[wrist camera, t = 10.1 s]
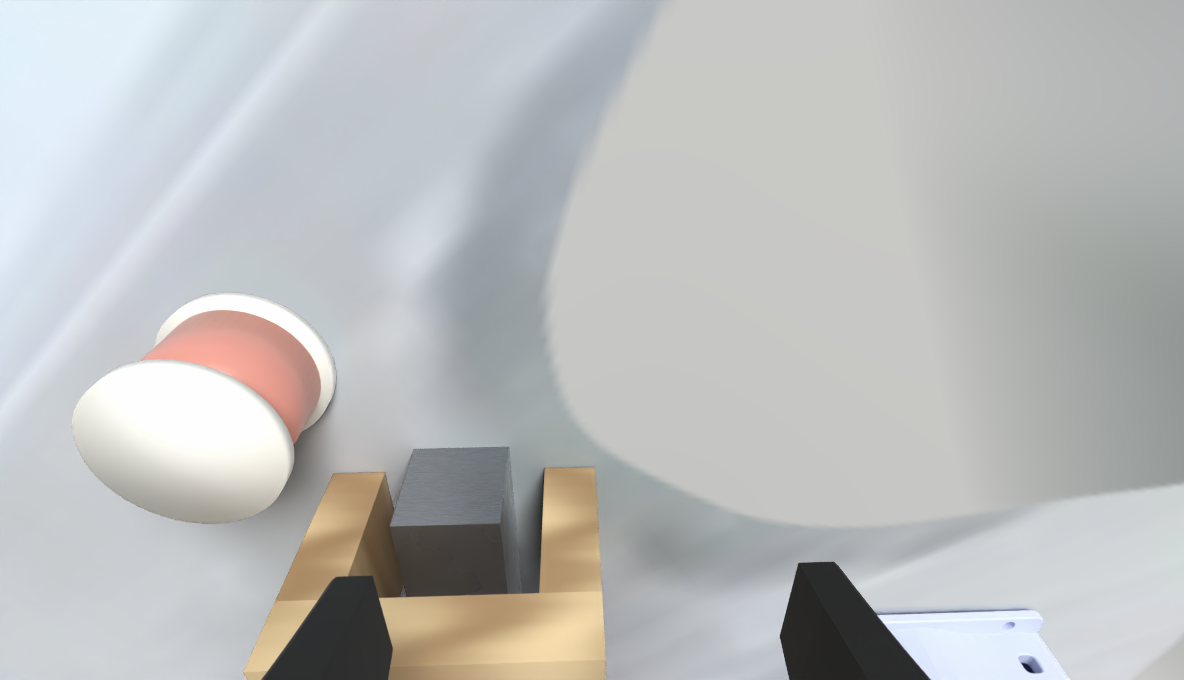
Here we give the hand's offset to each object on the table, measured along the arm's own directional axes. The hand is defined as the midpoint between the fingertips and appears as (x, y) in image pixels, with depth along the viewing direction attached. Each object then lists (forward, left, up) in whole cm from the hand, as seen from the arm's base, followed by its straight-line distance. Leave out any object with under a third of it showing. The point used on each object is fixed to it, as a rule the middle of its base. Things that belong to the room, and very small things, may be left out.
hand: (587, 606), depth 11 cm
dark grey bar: (+4, +13, -10) cm, 16 cm away
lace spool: (+10, +1, -9) cm, 14 cm away
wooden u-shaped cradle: (+4, +8, -9) cm, 13 cm away
